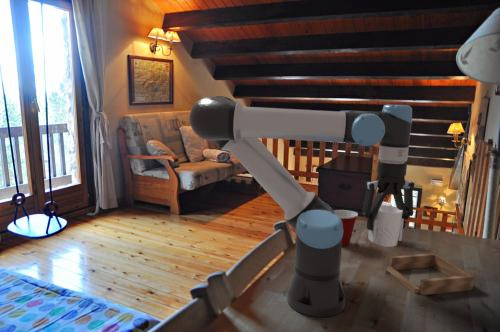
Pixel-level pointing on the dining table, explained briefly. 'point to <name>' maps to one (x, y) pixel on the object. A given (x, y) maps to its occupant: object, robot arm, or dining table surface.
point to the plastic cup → (346, 224)
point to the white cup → (388, 225)
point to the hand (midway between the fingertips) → (384, 239)
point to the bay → (452, 283)
